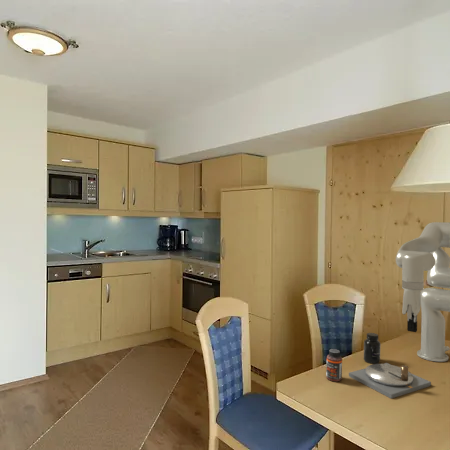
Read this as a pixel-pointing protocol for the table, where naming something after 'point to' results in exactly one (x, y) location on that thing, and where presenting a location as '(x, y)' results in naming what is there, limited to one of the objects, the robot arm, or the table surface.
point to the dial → (389, 374)
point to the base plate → (389, 390)
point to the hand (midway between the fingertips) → (412, 331)
